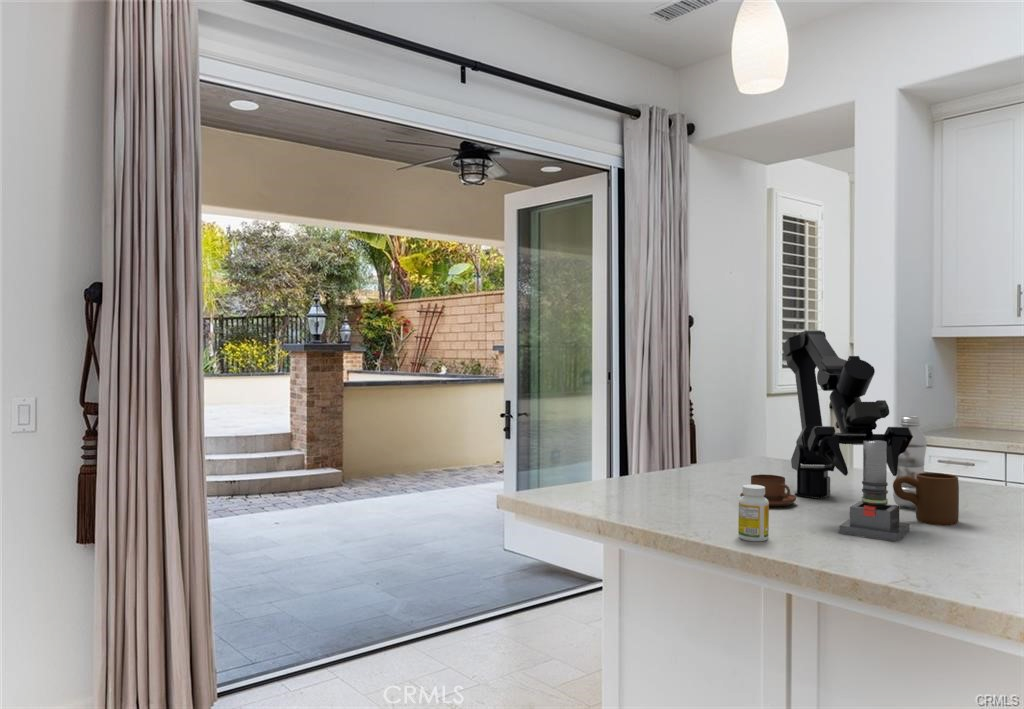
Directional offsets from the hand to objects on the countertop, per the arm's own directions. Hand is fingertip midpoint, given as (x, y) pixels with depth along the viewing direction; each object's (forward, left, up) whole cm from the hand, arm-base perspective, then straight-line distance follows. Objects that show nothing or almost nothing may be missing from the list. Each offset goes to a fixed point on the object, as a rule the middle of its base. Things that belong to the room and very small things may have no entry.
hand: (870, 474), depth 144 cm
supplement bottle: (-15, -20, -11) cm, 28 cm away
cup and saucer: (-25, +12, -11) cm, 30 cm away
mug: (+6, +15, -11) cm, 20 cm away
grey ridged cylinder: (+1, -1, -5) cm, 5 cm away
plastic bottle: (+1, +28, -11) cm, 30 cm away
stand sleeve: (+1, -1, -11) cm, 11 cm away
